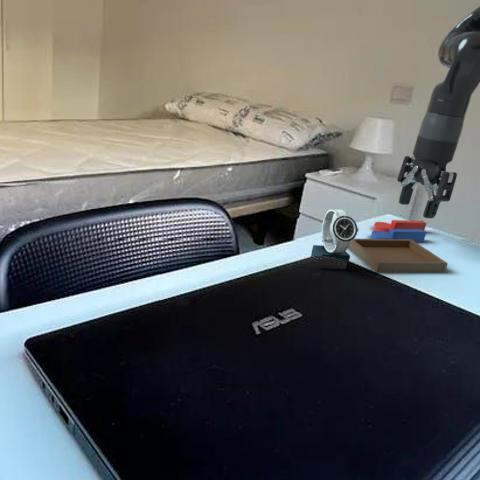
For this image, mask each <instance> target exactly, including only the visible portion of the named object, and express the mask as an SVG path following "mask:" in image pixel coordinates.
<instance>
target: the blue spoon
mask: <svg viewBox="0 0 480 480" xmlns="http://www.w3.org/2000/svg"><path fill="white" fill-rule="evenodd" d="M426 235H427V231H425V230H422V229H390V231H389V233H387V232H384V231H374V230H372V231H371V235H370V237H369V239H411V240H413V241H414V242H416V243H424V241H425V238H426Z"/></svg>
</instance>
